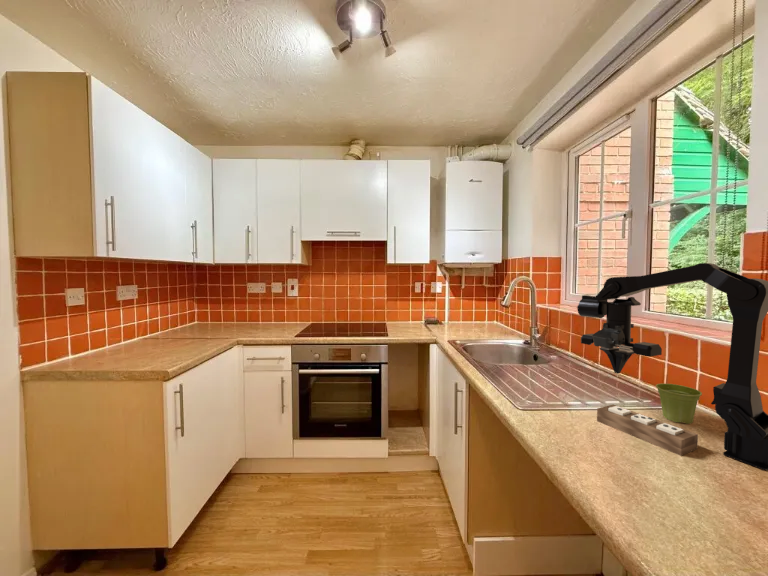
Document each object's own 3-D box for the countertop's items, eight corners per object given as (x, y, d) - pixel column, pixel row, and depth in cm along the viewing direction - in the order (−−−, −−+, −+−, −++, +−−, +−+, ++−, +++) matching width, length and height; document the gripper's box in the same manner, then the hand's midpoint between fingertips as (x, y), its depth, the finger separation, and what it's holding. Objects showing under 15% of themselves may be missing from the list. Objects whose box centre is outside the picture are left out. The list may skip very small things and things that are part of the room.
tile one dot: (630, 419, 83) (631, 410, 83) (622, 422, 82) (622, 412, 82) (616, 414, 86) (616, 405, 86) (608, 416, 85) (608, 407, 85)
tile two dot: (683, 439, 73) (683, 428, 73) (674, 442, 72) (675, 431, 72) (664, 432, 76) (664, 422, 76) (656, 435, 75) (656, 424, 75)
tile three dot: (655, 428, 78) (655, 418, 78) (646, 431, 77) (647, 421, 77) (638, 422, 81) (639, 413, 81) (630, 425, 80) (630, 415, 80)
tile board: (697, 448, 72) (697, 434, 72) (681, 455, 69) (681, 440, 69) (612, 416, 89) (613, 404, 89) (596, 420, 86) (597, 408, 86)
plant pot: (690, 430, 81) (691, 397, 81) (648, 415, 90) (648, 386, 89) (708, 423, 85) (709, 392, 85) (665, 409, 93) (666, 381, 93)
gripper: (569, 317, 95) (568, 367, 96) (638, 326, 78) (637, 387, 79) (592, 316, 100) (591, 363, 100) (663, 323, 83) (661, 381, 83)
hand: (617, 373), depth 90 cm, fingers closed
